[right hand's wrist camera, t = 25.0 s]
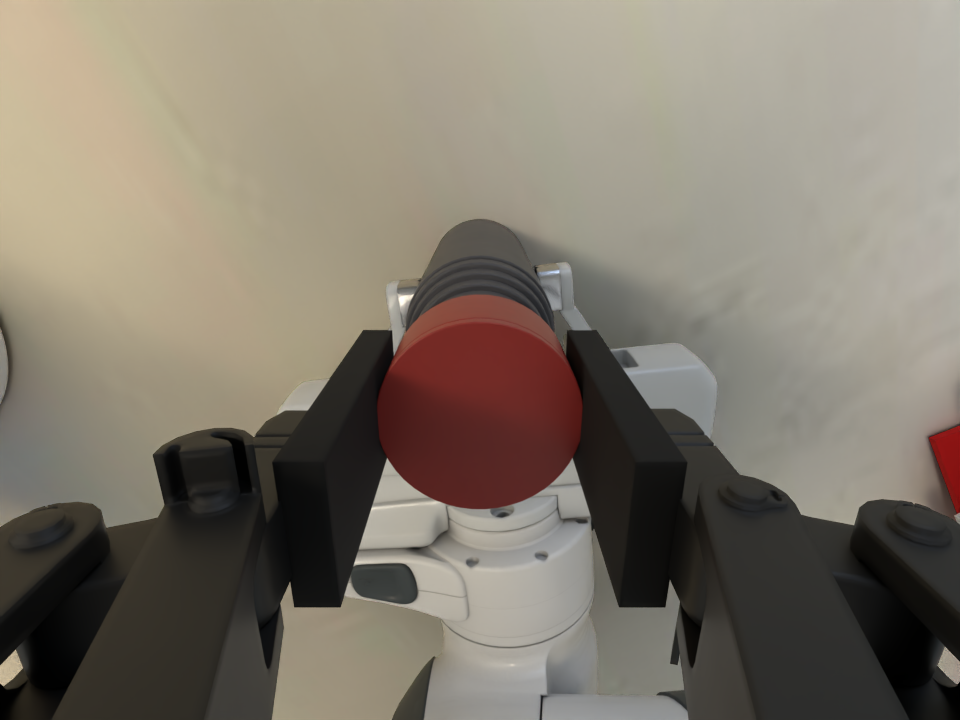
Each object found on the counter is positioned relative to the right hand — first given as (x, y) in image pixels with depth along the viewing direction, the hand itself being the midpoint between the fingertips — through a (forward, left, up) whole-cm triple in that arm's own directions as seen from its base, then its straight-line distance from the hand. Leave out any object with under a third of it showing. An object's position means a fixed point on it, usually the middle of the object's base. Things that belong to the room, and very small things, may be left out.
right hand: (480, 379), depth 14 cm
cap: (0, 0, +2) cm, 2 cm away
